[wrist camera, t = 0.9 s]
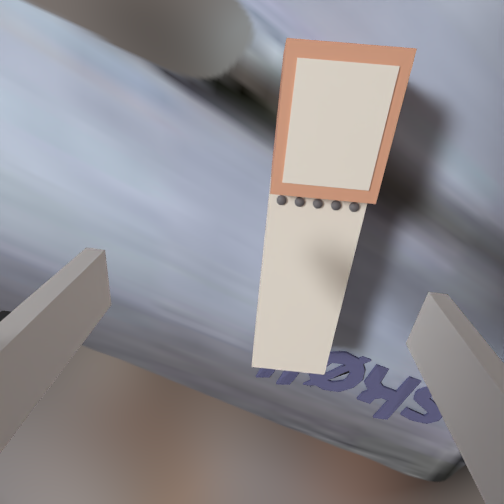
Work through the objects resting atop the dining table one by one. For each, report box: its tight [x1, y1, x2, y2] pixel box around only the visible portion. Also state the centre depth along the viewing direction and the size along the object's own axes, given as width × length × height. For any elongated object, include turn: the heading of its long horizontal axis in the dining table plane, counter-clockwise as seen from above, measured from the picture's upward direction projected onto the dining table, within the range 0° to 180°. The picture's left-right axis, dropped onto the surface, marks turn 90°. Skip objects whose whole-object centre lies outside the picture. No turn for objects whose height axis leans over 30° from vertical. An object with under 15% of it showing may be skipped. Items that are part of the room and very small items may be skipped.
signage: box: [256, 351, 442, 424], centre depth 47 cm, size 28×1×10 cm
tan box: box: [270, 38, 417, 204], centre depth 27 cm, size 10×8×10 cm
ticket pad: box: [252, 170, 367, 375], centre depth 35 cm, size 20×8×8 cm, turn 176°
